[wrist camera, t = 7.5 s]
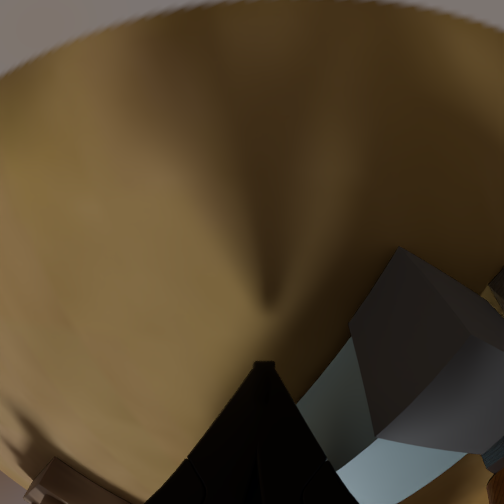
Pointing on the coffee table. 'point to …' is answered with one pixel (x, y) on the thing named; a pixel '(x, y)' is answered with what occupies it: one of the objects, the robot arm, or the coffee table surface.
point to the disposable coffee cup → (496, 488)
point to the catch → (500, 452)
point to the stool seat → (66, 488)
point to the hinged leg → (410, 384)
